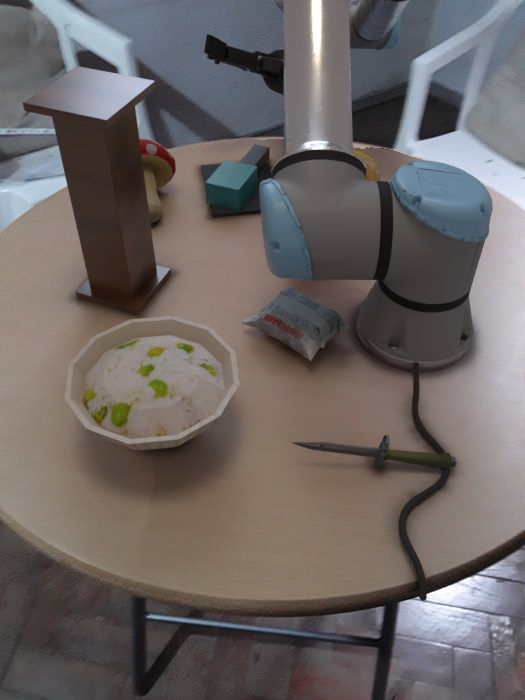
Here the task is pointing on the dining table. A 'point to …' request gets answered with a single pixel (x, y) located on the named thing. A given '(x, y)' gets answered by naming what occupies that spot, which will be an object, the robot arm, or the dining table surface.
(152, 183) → the decorative mushroom
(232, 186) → the teal long block
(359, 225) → the robot arm
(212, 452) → the dining table surface
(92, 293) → the stand
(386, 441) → the knife
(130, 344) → the bowl
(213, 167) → the mat
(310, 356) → the packaged food
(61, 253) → the dining table surface
